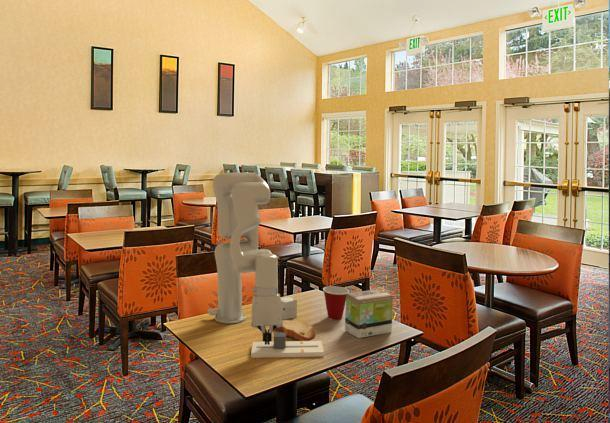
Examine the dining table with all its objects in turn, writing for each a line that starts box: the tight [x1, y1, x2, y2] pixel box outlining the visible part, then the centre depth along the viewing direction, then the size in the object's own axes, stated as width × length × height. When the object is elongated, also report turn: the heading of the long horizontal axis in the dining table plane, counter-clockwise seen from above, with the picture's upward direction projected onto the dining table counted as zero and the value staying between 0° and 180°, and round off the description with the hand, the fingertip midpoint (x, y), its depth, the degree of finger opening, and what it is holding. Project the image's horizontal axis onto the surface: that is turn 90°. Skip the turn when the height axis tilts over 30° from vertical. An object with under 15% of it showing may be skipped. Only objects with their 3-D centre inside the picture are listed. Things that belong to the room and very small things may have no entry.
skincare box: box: [281, 296, 298, 320], centre depth 206 cm, size 6×6×7 cm
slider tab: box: [273, 331, 287, 348], centre depth 170 cm, size 4×4×4 cm
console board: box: [250, 340, 325, 359], centre depth 171 cm, size 24×10×2 cm, turn 92°
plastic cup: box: [322, 285, 350, 320], centre depth 205 cm, size 11×11×12 cm
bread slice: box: [275, 319, 316, 341], centre depth 189 cm, size 18×18×4 cm
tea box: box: [344, 288, 394, 339], centre depth 188 cm, size 15×10×15 cm, turn 117°
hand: (267, 343), depth 170 cm, fingers closed
